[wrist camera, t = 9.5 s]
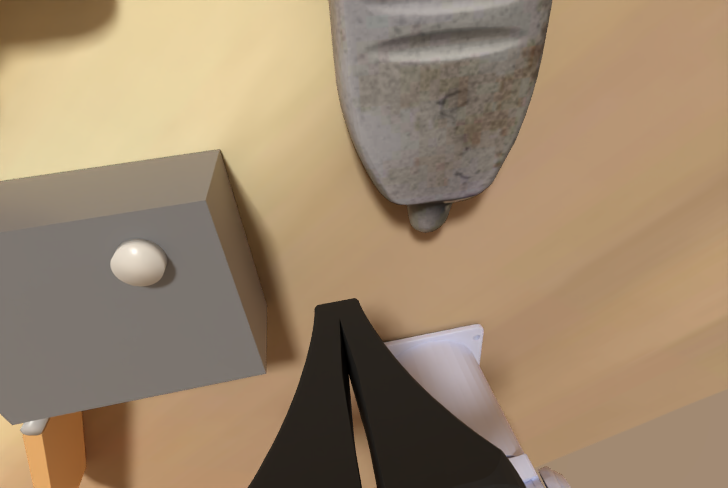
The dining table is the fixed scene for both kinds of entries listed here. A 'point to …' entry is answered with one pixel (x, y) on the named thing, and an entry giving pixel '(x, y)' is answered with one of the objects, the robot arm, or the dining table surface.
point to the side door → (55, 450)
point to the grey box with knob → (124, 286)
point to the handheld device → (435, 92)
